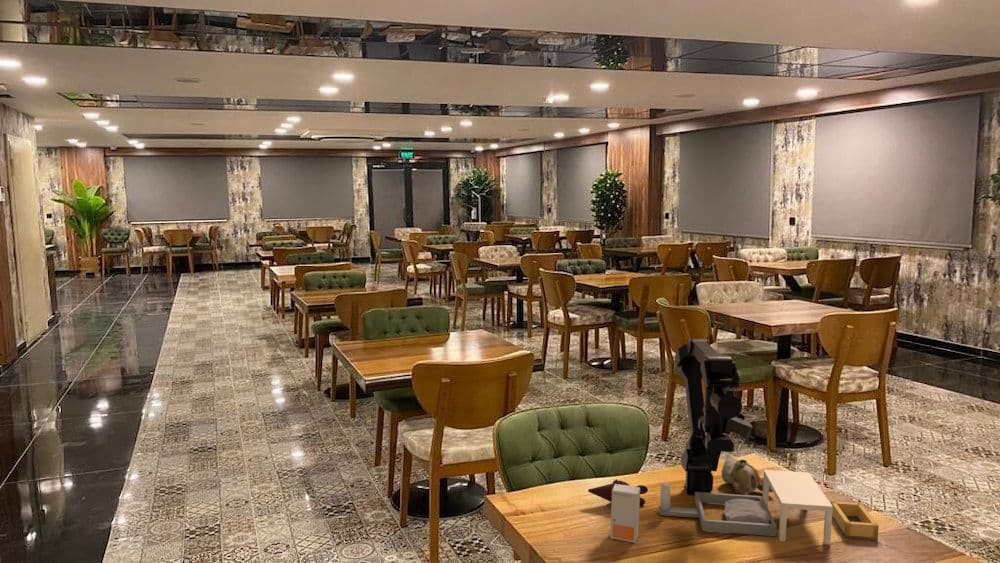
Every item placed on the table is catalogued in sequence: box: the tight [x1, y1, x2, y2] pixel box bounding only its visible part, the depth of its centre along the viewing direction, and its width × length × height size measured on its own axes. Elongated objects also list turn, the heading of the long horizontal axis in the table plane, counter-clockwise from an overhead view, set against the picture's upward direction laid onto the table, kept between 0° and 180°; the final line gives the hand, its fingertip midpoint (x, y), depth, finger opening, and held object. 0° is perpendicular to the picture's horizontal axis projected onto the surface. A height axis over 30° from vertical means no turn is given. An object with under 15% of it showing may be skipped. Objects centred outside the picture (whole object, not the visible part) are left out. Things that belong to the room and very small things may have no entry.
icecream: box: [587, 478, 649, 506], centre depth 182 cm, size 7×8×15 cm
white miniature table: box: [762, 469, 833, 546], centre depth 173 cm, size 11×20×9 cm, turn 171°
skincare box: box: [610, 484, 641, 544], centre depth 165 cm, size 6×4×12 cm
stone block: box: [723, 499, 770, 524], centre depth 175 cm, size 12×5×10 cm
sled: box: [658, 482, 777, 537], centre depth 176 cm, size 26×17×7 cm, turn 81°
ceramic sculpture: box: [720, 455, 773, 495], centre depth 192 cm, size 11×9×15 cm
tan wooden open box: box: [830, 501, 880, 541], centre depth 171 cm, size 7×12×4 cm, turn 171°
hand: (713, 466), depth 177 cm, fingers closed
